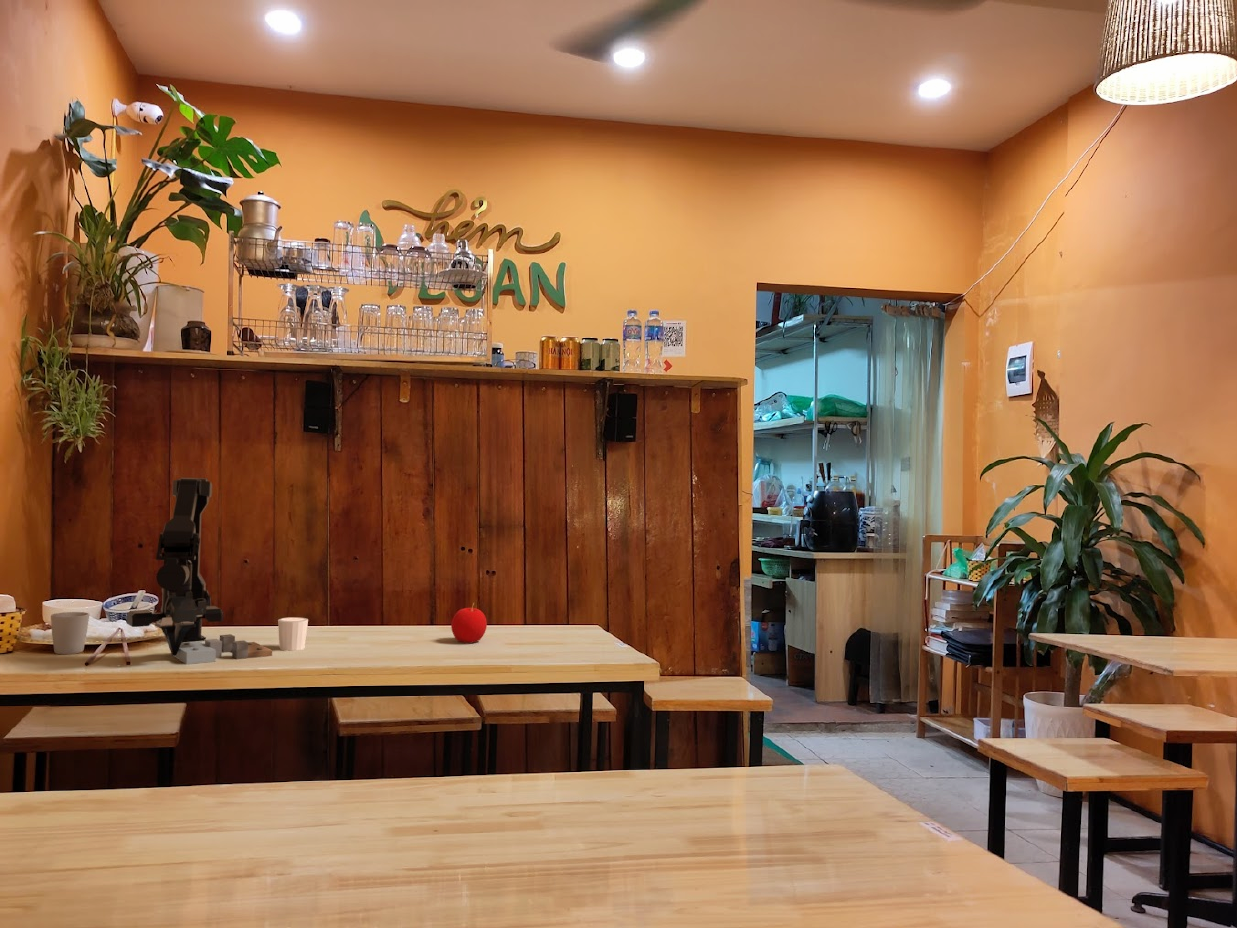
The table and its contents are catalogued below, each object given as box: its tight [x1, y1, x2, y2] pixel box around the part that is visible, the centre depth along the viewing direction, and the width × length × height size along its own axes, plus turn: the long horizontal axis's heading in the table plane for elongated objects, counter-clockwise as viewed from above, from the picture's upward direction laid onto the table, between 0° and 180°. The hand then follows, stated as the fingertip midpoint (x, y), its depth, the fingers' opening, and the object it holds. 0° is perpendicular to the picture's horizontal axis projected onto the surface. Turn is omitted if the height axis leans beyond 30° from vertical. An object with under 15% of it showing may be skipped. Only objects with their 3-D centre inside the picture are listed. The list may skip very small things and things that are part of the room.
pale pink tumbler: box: [277, 616, 309, 652], centre depth 226 cm, size 7×7×7 cm
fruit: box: [451, 602, 488, 644], centre depth 243 cm, size 9×9×10 cm
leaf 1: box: [173, 638, 223, 665], centre depth 212 cm, size 8×12×4 cm
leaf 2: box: [219, 633, 273, 660], centre depth 219 cm, size 8×12×4 cm, turn 40°
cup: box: [50, 611, 90, 655], centre depth 214 cm, size 8×10×8 cm
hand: (174, 655), depth 209 cm, fingers closed
